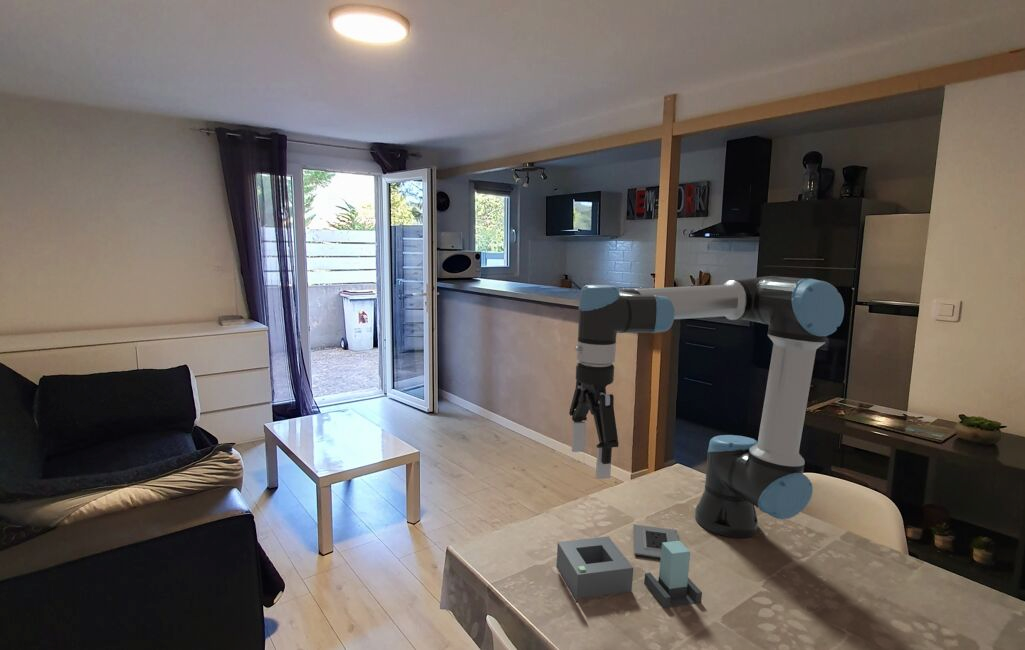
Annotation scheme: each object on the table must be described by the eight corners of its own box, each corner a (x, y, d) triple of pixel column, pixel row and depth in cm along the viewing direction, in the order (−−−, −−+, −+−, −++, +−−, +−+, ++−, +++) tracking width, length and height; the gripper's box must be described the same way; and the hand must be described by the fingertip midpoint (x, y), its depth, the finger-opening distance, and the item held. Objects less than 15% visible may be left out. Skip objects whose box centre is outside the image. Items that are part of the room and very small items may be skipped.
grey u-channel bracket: (679, 581, 114) (680, 568, 114) (701, 606, 107) (702, 592, 106) (643, 586, 112) (644, 573, 112) (663, 611, 104) (664, 597, 104)
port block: (606, 561, 121) (608, 534, 120) (631, 594, 109) (633, 565, 108) (556, 567, 118) (557, 540, 117) (576, 602, 106) (577, 572, 105)
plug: (675, 585, 112) (679, 540, 110) (686, 597, 108) (690, 551, 106) (657, 587, 111) (661, 542, 109) (668, 600, 107) (672, 553, 105)
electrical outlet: (681, 568, 120) (682, 558, 119) (633, 561, 122) (634, 551, 122) (676, 537, 133) (677, 528, 132) (632, 532, 135) (633, 523, 134)
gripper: (557, 350, 118) (553, 442, 121) (602, 378, 94) (596, 492, 97) (589, 350, 120) (584, 440, 123) (641, 377, 96) (634, 489, 99)
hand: (589, 463), depth 110 cm, fingers open, 13 cm apart
